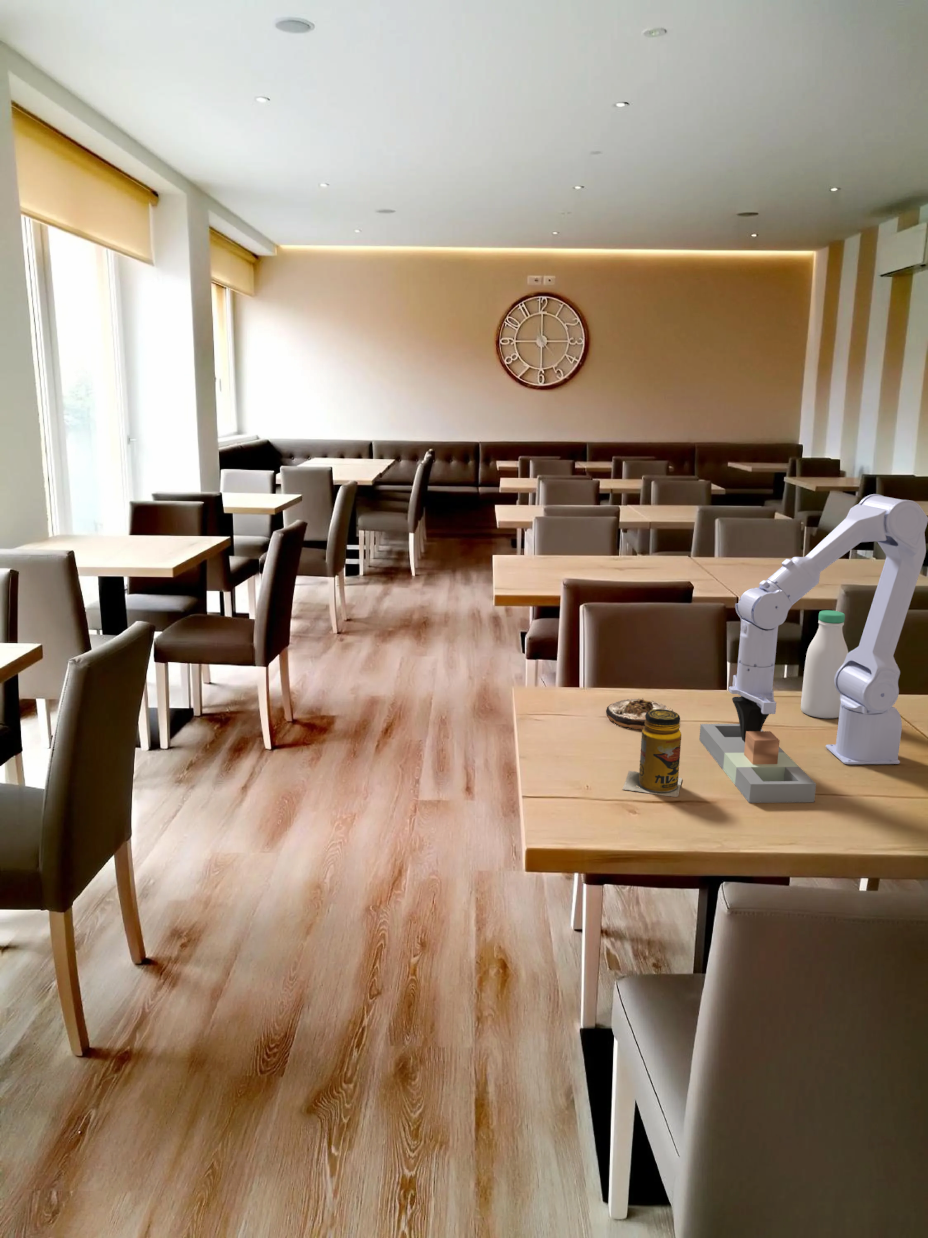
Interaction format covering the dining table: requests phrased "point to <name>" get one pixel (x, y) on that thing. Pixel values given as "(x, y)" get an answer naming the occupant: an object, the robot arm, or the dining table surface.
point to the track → (756, 768)
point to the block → (761, 747)
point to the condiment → (658, 755)
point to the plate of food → (632, 712)
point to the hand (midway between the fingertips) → (749, 741)
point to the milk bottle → (824, 667)
